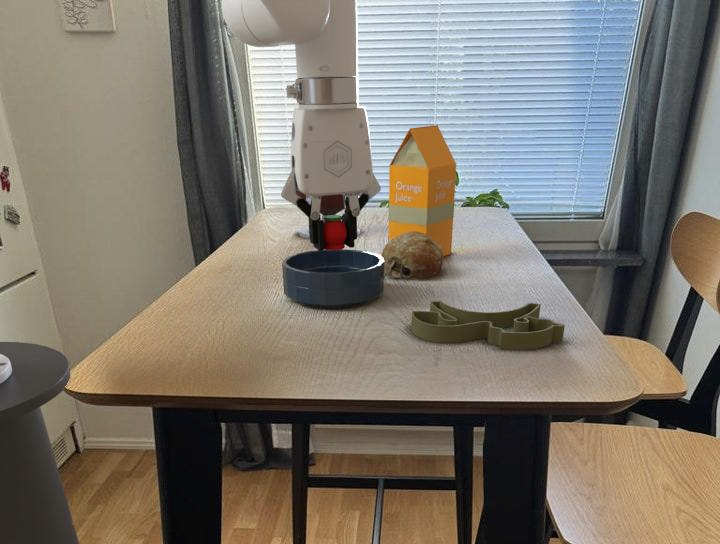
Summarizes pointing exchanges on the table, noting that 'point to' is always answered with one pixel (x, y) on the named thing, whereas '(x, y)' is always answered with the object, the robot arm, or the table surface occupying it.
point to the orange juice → (423, 187)
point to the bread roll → (412, 256)
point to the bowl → (333, 277)
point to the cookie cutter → (487, 326)
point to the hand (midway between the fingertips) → (333, 245)
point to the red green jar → (334, 232)
